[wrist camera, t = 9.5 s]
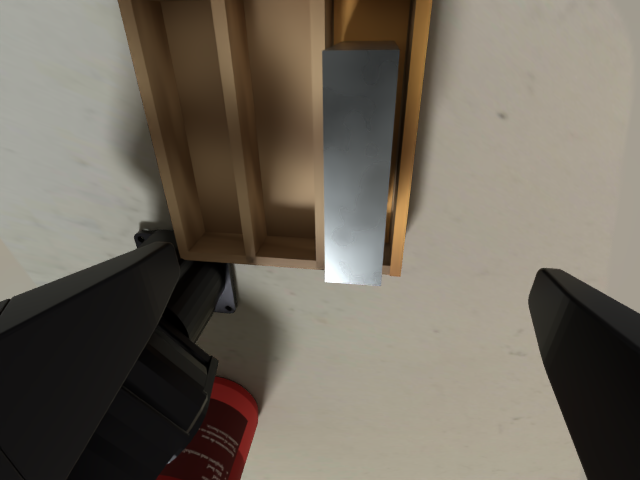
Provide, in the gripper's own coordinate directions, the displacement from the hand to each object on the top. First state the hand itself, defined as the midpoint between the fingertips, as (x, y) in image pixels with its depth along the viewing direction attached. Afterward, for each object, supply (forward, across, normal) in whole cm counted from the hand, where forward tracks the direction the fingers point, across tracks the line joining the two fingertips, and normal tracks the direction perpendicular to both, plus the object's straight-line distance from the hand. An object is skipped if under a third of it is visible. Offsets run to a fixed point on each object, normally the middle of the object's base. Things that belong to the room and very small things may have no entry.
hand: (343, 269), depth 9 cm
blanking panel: (+12, 0, 0) cm, 12 cm away
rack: (+13, +4, 0) cm, 14 cm away
